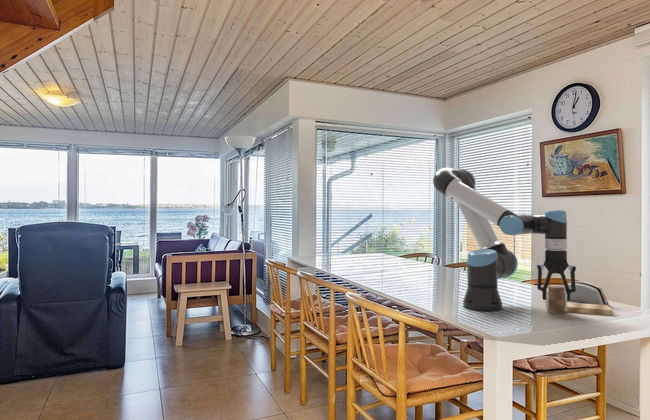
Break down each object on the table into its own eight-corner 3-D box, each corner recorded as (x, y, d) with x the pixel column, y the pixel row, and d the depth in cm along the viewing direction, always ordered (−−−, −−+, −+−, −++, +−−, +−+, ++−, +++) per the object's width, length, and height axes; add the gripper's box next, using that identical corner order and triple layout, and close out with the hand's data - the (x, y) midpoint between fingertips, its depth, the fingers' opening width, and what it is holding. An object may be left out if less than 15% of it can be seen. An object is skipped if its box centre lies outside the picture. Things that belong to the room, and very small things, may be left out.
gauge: (549, 313, 166) (549, 287, 166) (546, 305, 180) (546, 281, 180) (564, 314, 164) (564, 288, 164) (559, 306, 178) (559, 282, 178)
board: (547, 310, 170) (547, 305, 170) (545, 305, 179) (545, 300, 179) (612, 315, 162) (612, 310, 162) (607, 310, 170) (607, 305, 170)
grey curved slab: (609, 304, 180) (604, 283, 178) (603, 309, 178) (598, 287, 176) (571, 297, 195) (566, 277, 193) (565, 302, 193) (560, 281, 191)
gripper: (529, 249, 167) (530, 309, 167) (585, 251, 160) (585, 313, 160) (528, 248, 174) (529, 305, 174) (581, 249, 167) (582, 309, 167)
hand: (556, 308), depth 167 cm, fingers open, 6 cm apart
